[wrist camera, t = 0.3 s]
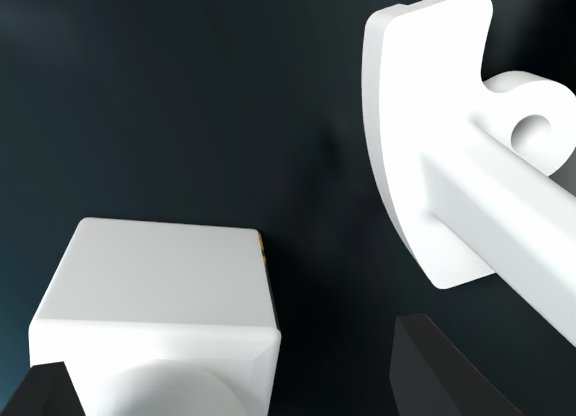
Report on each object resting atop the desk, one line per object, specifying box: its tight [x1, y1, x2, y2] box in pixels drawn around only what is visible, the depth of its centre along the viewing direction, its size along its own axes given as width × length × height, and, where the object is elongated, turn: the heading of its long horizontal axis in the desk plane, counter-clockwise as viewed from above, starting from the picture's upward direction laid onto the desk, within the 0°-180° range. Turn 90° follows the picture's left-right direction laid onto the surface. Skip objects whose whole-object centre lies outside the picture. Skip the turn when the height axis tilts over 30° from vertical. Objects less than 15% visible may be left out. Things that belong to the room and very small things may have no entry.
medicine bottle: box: [29, 217, 281, 416], centre depth 17 cm, size 7×7×12 cm
